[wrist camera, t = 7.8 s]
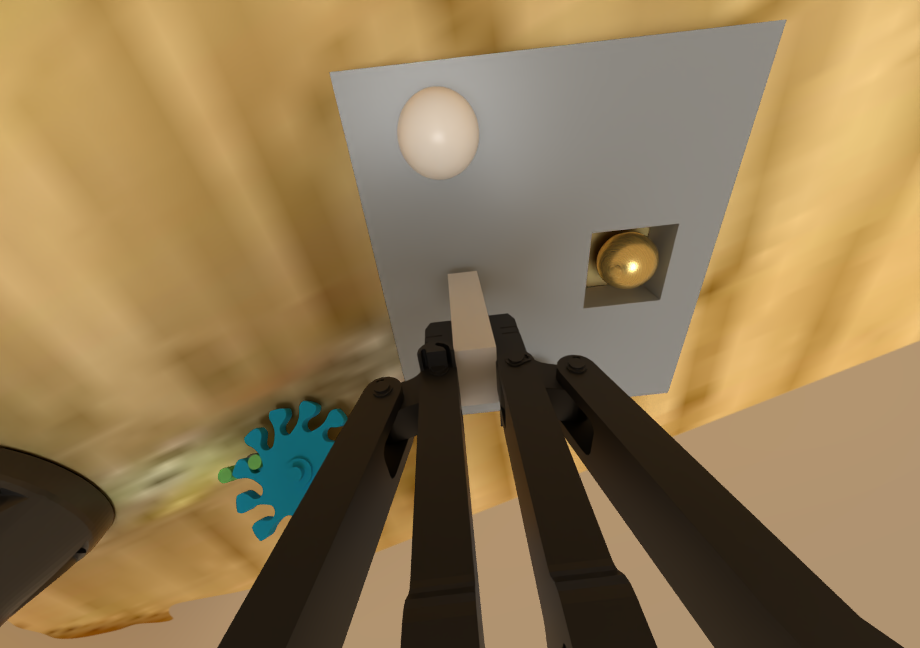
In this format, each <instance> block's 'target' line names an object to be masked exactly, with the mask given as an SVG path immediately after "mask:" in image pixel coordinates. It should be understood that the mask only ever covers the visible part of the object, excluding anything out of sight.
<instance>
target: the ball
mask: <svg viewBox="0 0 920 648" xmlns="http://www.w3.org/2000/svg"><path fill="white" fill-rule="evenodd" d="M658 263H659V253H658V249H657V247H656V245H655V244H654V243H653V241H652V240H651V239H650V238H648V237H647V236H645V235H643V234H641V233H637V232H624V233H620V234H617V235H615V236H613V237H611V238H610V239H608V240H607V241H606V242H605V243H604V244H603V245H602V247H601V248H600V250H599V252H598V255H597V262H596V264H597V270H598V273H599V275H600V276H601V278H602V279H603V280H604V281H605V282H606V283H607V284H609V285H611V286H613V287H615V288H620V289H631V288H635V287H638V286H640V285H642V284H644V283H646V282H647V281H648V280H649V279H650V278H651V277H652V276H653V275H654V273H655V271H656V269H657V267H658Z"/></svg>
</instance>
